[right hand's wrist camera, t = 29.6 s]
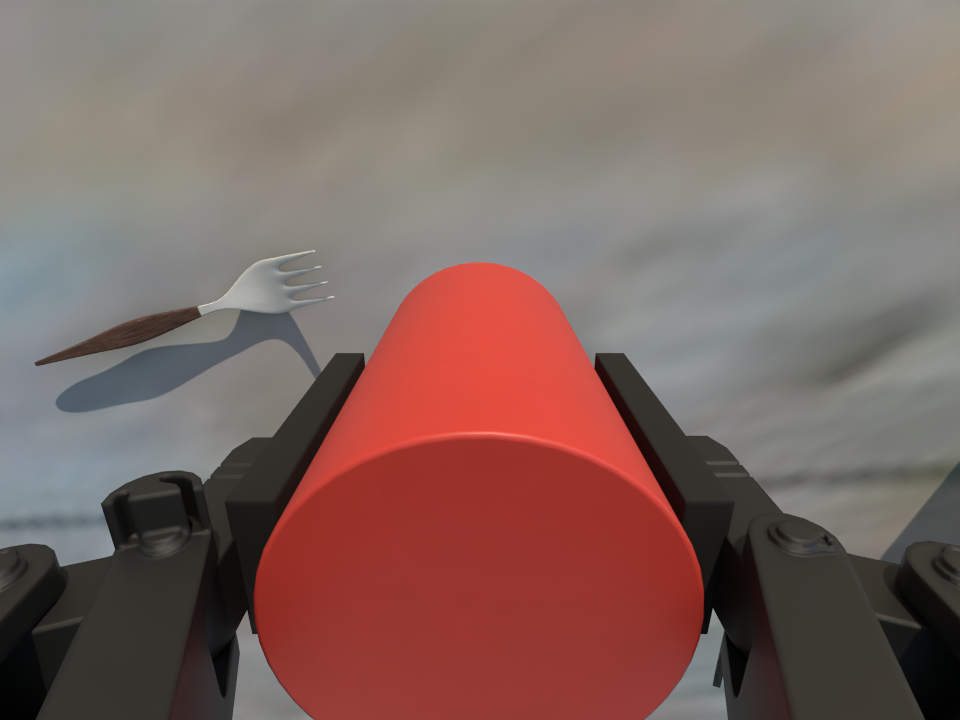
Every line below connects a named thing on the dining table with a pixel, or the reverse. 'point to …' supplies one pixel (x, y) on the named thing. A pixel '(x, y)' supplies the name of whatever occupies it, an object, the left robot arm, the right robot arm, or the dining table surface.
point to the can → (479, 530)
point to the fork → (208, 308)
